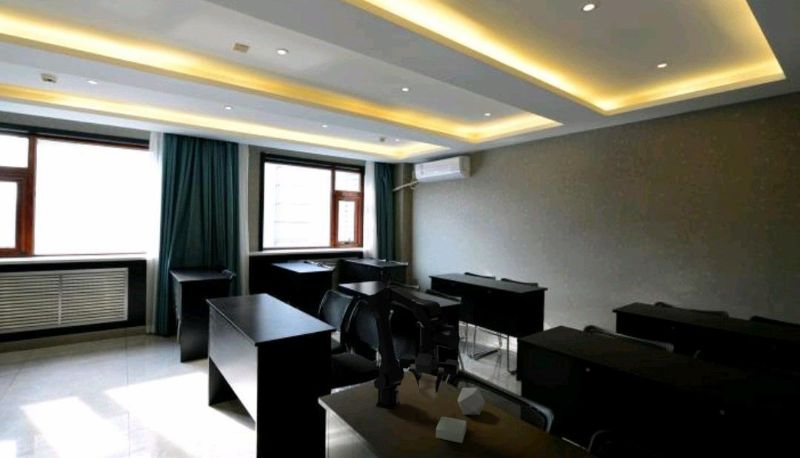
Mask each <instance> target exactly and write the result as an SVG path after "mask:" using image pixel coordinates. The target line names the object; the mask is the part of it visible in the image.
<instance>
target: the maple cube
mask: <svg viewBox="0 0 800 458" xmlns="http://www.w3.org/2000/svg"><path fill="white" fill-rule="evenodd" d="M436 383H437V375H436V376H435V375H430V374H422V377H421V378H420V380H419V387H418V397H419V398H425V399H433V400H435V399H436V397H437V394H438V393H439V391H438V392H437V393H436Z"/></svg>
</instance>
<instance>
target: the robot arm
mask: <svg viewBox="0 0 800 458" xmlns="http://www.w3.org/2000/svg"><path fill="white" fill-rule="evenodd" d="M393 302H396V303H398V304H400V305H402V306H403V307H405V308H407V309H409V310H410V311H412V313H413V316H414V317H415V318H417V319H418V321H417V322H416V323H415V326H416V327H420V328H419V330H420V331H419V333H420V334H419V349H418V354H417V356H415V355H414V354H406V353H405V354H403V355H402V356H401V357H400V358H399V359H398V358H397V357H396V352H395V345H394V339H393V333H392V328H391V327H392V326H391V323H390V322H391V321H390V315H391V311H392V303H393ZM367 307H368V310H369V313H370V315H372V317H373V319H375V325H376V331H377V337H378V338H377V339H378V344H379V350H380V357H381V361H380V365H379V367H378V376H377V377H376V378H375V379H374V381H373V385H374V388H375V389H377V402H376V403H375V406H376V407H379V408H386V409H391V410H393V409H394V408H395V407H396V405H398V404H399V398H400V397H399V395H400V394H399V393H400V392H399V390H398V387H400V386H401V385H402V382H403V380H404V379H405V375H404V374H405V373H406V372H405V370H404V369H406V370H407V369H408V372H410V373H412V374H413V376H414V378H415V380H416V383H417V387H418V388H419V380H420V378H421V377H422V376H423V374H425V375H430V374H431V373H432V371H434V370H438V371H437V373H436V377H437V383H436V393H437V392H438V393H439V389H440V387H441V384H442V381H443V379H444V377H446V376H448V375H452V376H457V375H458V373H459V371H460V368H461V367H460V362H459V361H458V360H456V359H448V358H447V359H446V361H445V362H444V361H443V362H442V361H439V347H442V348H446V349H448V350H452V351H454V350H455V349H457V348H458V347H459V345H460V341H461V336H460V334H459V332H458V330H456V326H455V325H449V321H448V320H447V317H446V316H445V313H444V311H443V310H442V307H441V304H440V303H439V302H437V301H435V300H431V299H424V298H420V297H418V296H416V295H414V294H412V293H410V292H408V291H406V290H404V289H402V288H400V286H399V285H388V286H386V287H384V288H383V289H382V290H379V291H377V292H376V293H373V294H370V295H369V297H368V298H367ZM438 393H437V394H438Z"/></svg>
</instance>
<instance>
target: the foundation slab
mask: <svg viewBox="0 0 800 458" xmlns="http://www.w3.org/2000/svg"><path fill="white" fill-rule="evenodd" d="M466 431H467V420H464V419H459V418H452V417H447V416H441V417H440V419H439V421H438V423H437V426H436V428H435V438H436V439H442V440H445V441H446V440H447V441H451V442H454V443H455V442H456V443H461V444H463V442H464V438H465V435H466Z"/></svg>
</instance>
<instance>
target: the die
mask: <svg viewBox="0 0 800 458" xmlns="http://www.w3.org/2000/svg"><path fill="white" fill-rule="evenodd" d="M457 403H458V405H459V407H460V409H461V412H462V413H463V415H464V416H480V414H481V412H482V409H483V408H484V406H485V403H486V401H485V399H484V396H483V395H482V393H481V391H480V389H479V388H478V387H462V388H461V391H460V393H459V395H458V398H457Z"/></svg>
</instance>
